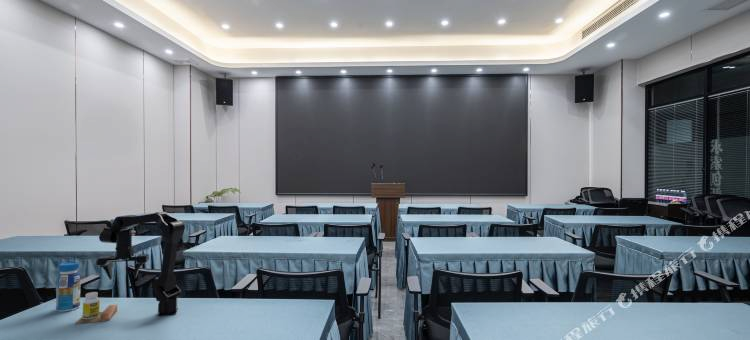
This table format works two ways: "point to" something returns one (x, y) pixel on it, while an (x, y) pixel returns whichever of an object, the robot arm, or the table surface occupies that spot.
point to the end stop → (101, 315)
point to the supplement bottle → (91, 306)
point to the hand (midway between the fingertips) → (123, 278)
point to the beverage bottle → (68, 287)
